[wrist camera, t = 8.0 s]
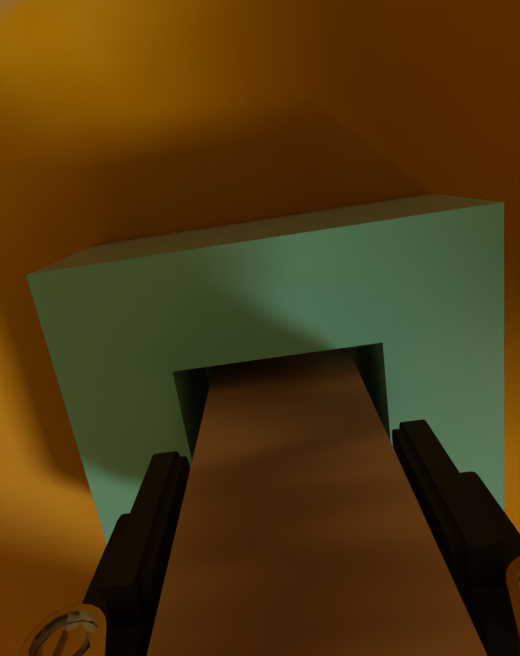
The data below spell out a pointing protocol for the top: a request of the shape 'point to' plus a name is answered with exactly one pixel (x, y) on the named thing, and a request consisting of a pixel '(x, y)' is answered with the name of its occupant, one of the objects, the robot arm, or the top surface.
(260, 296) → the green square frame
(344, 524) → the long wooden beam
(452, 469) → the robot arm
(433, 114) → the top surface
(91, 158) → the top surface
